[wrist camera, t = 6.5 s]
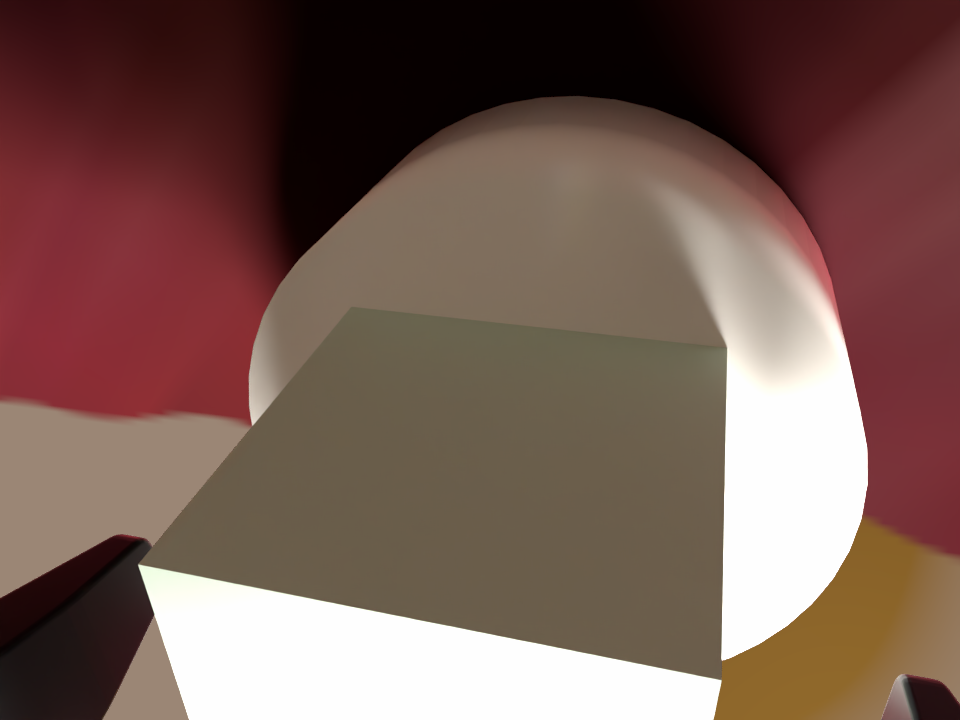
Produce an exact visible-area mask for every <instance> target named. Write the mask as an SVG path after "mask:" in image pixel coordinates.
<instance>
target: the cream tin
mask: <svg viewBox="0 0 960 720" xmlns="http://www.w3.org/2000/svg"><path fill="white" fill-rule="evenodd" d="M351 307H358V308H368V309H377V310H386V311H395V312H404V313H413V314H422V315H432V316H441V317H450V318H459V319H468V320H477V321H486V322H496V323H505V324H514V325H523V326H532V327H541V328H551V329H560V330H569V331H578V332H587V333H596V334H605V335H615V336H624V337H633V338H642V339H651V340H660V341H669V342H679V343H688V344H697V345H706V346H715V347H724V348H727V398H726V454H725V510H724V566H723V621H722V660H725V659H727V658H730V657H732V656H734V655H736V654H739V653H741V652H743V651H745V650H747V649H749V648H751V647H753V646H755V645H757V644H759V643H761V642H762V641H764V640H765V639H767V638H769V637H770V636H772V635H773V634H775V633H776V632H778V631H779V630H781V629H782V628H784V627H785V626H787V625H788V624H789V623H790V622H792V621H793V620H794V619H795V618H796V617H797V616H798V615H799V614H801V613H802V612H803V611H804V610H805V609H806V608H807V607H809V605H811V604H812V603H813V602H814V600H815V599H816V598H817V597H818V596H819V594H820V593H821V592H822V591H823V589H825V587H826V586H827V585H828V584H829V582H830V581H831V580H832V579H833V577H834V576H835V574H836V572H837V570H838V569H839V567H840V565H841V564H842V562H843V560H844V559H845V557H846V555H847V554H848V552H849V550H850V547H851V545H852V542H853V539H854V536H855V534H856V531H857V529H858V526H859V523H860V521H861V517H862V511H863V506H864V500H865V494H866V489H867V445H866V440H865V435H864V429H863V424H862V419H861V413H860V408H859V404H858V399H857V395H856V390H855V386H854V381H853V377H852V372H851V367H850V363H849V358H848V354H847V349H846V345H845V340H844V336H843V331H842V327H841V322H840V318H839V313H838V308H837V304H836V299H835V295H834V290H833V286H832V281H831V278H830V275H829V272H828V269H827V267H826V264H825V261H824V258H823V255H822V253H821V250H820V247H819V245H818V244H817V242H816V240H815V238H814V236H813V235H812V233H811V231H810V229H809V227H808V225H807V224H806V222H805V220H804V218H803V217H802V215H801V214H800V213H799V211H798V210H797V209H796V207H795V206H794V205H793V203H792V202H791V201H790V200H789V198H788V197H787V196H786V194H785V193H784V192H783V190H782V189H781V188H780V187H779V186H778V185H777V184H776V183H775V182H774V181H773V180H772V179H771V178H770V177H769V176H768V175H767V174H766V173H765V172H764V171H763V170H762V169H761V168H759V167H758V166H757V165H756V164H755V163H754V162H753V161H752V160H750V159H749V158H747V157H746V156H745V155H743V154H742V153H741V152H739V151H738V150H737V149H735V148H734V147H732V146H731V145H730V144H728V143H727V142H726V141H724V140H722V139H721V138H719V137H717V136H715V135H713V134H711V133H709V132H708V131H706V130H704V129H702V128H700V127H698V126H697V125H695V124H693V123H691V122H689V121H686V120H683V119H681V118H678V117H675V116H673V115H670V114H667V113H665V112H662V111H660V110H657V109H654V108H650V107H646V106H641V105H637V104H633V103H629V102H624V101H620V100H615V99H604V98H594V97H583V96H567V97H541V98H535V99H530V100H524V101H519V102H513V103H507V104H503V105H500V106H497V107H494V108H491V109H488V110H485V111H482V112H479V113H476V114H472V115H470V116H468V117H466V118H464V119H462V120H460V121H458V122H456V123H454V124H452V125H450V126H448V127H446V128H444V129H442V130H440V131H439V132H437V133H436V134H435V135H433V136H432V137H430V138H429V139H427V140H426V141H424V142H423V143H421V144H420V145H419V146H417V147H416V148H414V149H413V150H412V151H411V152H410V153H409V154H408V155H407V156H406V157H405V158H404V159H403V160H402V161H401V162H399V163H398V164H397V165H396V166H395V167H394V168H393V169H392V170H391V171H390V172H389V173H388V174H387V175H386V176H385V177H384V178H383V179H382V180H381V181H380V182H379V183H378V184H377V185H375V186H374V187H373V188H372V189H371V190H370V191H369V192H368V193H367V194H366V195H365V196H364V197H363V198H362V199H361V200H360V201H359V202H358V203H357V204H356V205H355V206H354V207H353V208H352V209H351V210H350V211H349V212H348V213H347V214H345V215H344V216H343V217H342V218H341V219H340V220H339V221H338V222H337V223H336V224H335V225H334V226H333V227H332V228H331V229H330V230H329V231H328V232H327V233H326V234H325V235H324V236H323V237H322V238H321V239H320V240H319V241H318V242H317V243H316V244H314V245H313V246H312V247H311V248H310V249H309V250H308V251H307V252H306V253H305V254H304V255H303V256H302V257H301V258H300V259H299V260H298V262H297V263H296V264H295V265H294V267H293V268H292V269H291V271H290V272H289V273H288V275H287V276H286V277H285V278H284V280H283V281H282V282H281V284H280V285H279V286H278V288H277V290H276V292H275V294H274V296H273V298H272V300H271V302H270V303H269V305H268V307H267V309H266V311H265V313H264V315H263V318H262V321H261V324H260V327H259V330H258V333H257V336H256V339H255V342H254V346H253V352H252V359H251V366H250V372H249V408H250V415H251V421H252V426H253V425H254V424H255V423H256V421H257V420H258V419H259V418H260V417H261V415H262V414H263V413H264V412H265V410H266V409H267V408H268V407H269V406H270V404H271V403H272V402H273V401H274V400H275V398H276V397H277V396H278V395H279V394H280V392H281V391H282V390H283V389H284V388H285V386H286V385H287V384H288V383H289V381H290V380H291V379H292V378H293V377H294V375H295V374H296V373H297V372H298V371H299V369H300V368H301V367H302V366H303V365H304V363H305V362H306V361H307V360H308V359H309V357H310V356H311V355H312V354H313V353H314V351H315V350H316V349H317V348H318V346H319V345H320V344H321V343H322V342H323V340H324V339H325V338H326V337H327V336H328V334H329V333H330V332H331V331H332V330H333V328H334V327H335V326H336V325H337V324H338V322H339V321H340V320H341V319H342V317H343V316H344V315H345V314H346V313H347V311H348V310H349V309H350V308H351Z"/></svg>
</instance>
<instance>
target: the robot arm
mask: <svg viewBox="0 0 960 720" xmlns="http://www.w3.org/2000/svg"><path fill="white" fill-rule="evenodd" d="M151 548H152V545H151V543H150V542H149V541H148V540H147V539H145V538H141V537H136V536H130V535H123V534H120V535H115V536H113V537H110V538H109V539H107V540H105V541H103V542H101V543H99V544H98V545H96V546H94V547H92V548H90V549H89V550H87V551H85V552H83V553H81V554H79V555H78V556H76V557H74V558H72V559H70V560H69V561H67V562H65V563H63V564H61V565H59V566H58V567H56V568H54V569H52V570H50V571H49V572H47V573H45V574H43V575H41V576H40V577H38V578H36V579H34V580H32V581H31V582H28V583H27V584H25V585H23V586H21V587H20V588H18V589H16V590H14V591H12V592H10V593H8V594H7V595H5V596H3V597H1V598H0V720H102V719H103V718H104V716H105V714H106V712H107V711H108V709H109V707H110V705H111V703H112V702H113V700H114V698H115V696H116V694H117V692H118V690H119V688H120V686H121V684H122V682H123V679H124V677H125V675H126V673H127V671H128V669H129V667H130V665H131V663H132V661H133V659H134V657H135V655H136V652H137V650H138V648H139V646H140V644H141V642H142V640H143V637H144V636H145V634H146V632H147V629H148V627H149V625H150V623H151V621H152V619H153V617H154V615H155V614H154V611H153V608H152V605H151V602H150V599H149V596H148V593H147V590H146V587H145V584H144V581H143V578H142V575H141V572H140V569H139V566H138V564H139V563H140V561H141V560H142V559H143V558H144V557H145V555H146V554H147V553H148V552H149V551H150V549H151ZM881 720H960V704H959V702H958V701H957V699H956V698H955V697H954V696H953V694H952V693H951V691H950V690H949V689H948V688H947V686H945V685H944V684H943V683H942V682H940V681H938V680H935V679H930V678H925V677H919V676H913V675H908V674H902V675H900V676H899V677H898V678H897V679H896V680H895V682H894V685H893V688H892V691H891V694H890V696H889V699H888V702H887V705H886V707H885V710H884V713H883V716H882V719H881Z"/></svg>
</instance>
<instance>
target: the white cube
mask: <svg viewBox="0 0 960 720" xmlns="http://www.w3.org/2000/svg"><path fill="white" fill-rule="evenodd" d="M726 398H727V348H724V347H715V346H706V345H697V344H688V343H679V342H669V341H660V340H651V339H642V338H633V337H624V336H615V335H605V334H596V333H587V332H578V331H569V330H560V329H551V328H541V327H532V326H523V325H514V324H505V323H496V322H486V321H477V320H468V319H459V318H450V317H441V316H432V315H422V314H413V313H404V312H395V311H386V310H377V309H368V308H358V307H351V308H350V309H349V310H348V311H347V313H346V314H345V315H344V316H343V317H342V319H341V320H340V321H339V322H338V324H337V325H336V326H335V327H334V328H333V330H332V331H331V332H330V333H329V334H328V336H327V337H326V338H325V339H324V340H323V342H322V343H321V344H320V345H319V346H318V348H317V349H316V350H315V351H314V353H313V354H312V355H311V356H310V357H309V359H308V360H307V361H306V362H305V363H304V365H303V366H302V367H301V368H300V369H299V371H298V372H297V373H296V374H295V375H294V377H293V378H292V379H291V380H290V381H289V383H288V384H287V385H286V386H285V388H284V389H283V390H282V391H281V392H280V394H279V395H278V396H277V397H276V398H275V400H274V401H273V402H272V403H271V404H270V406H269V407H268V408H267V409H266V410H265V412H264V413H263V414H262V415H261V417H260V418H259V419H258V420H257V421H256V423H255V424H254V425H253V426H252V427H251V429H250V430H249V431H248V432H247V433H246V435H245V436H244V437H243V438H242V439H241V441H240V442H239V443H238V445H237V446H236V447H235V448H234V449H233V451H232V452H231V453H230V454H229V455H228V456H227V458H226V459H225V460H224V461H223V463H222V464H221V465H220V466H219V467H218V468H217V470H216V471H215V472H214V473H213V475H212V476H211V477H210V478H209V480H208V481H207V482H206V483H205V484H204V485H203V487H202V488H201V489H200V490H199V491H198V493H197V494H196V495H195V496H194V498H193V499H192V500H191V501H190V502H189V504H188V505H187V506H186V507H185V508H184V510H183V511H182V512H181V513H180V514H179V516H178V517H177V518H176V519H175V521H174V522H173V523H172V524H171V525H170V527H169V528H168V529H167V530H166V531H165V533H164V534H163V535H162V536H161V538H160V539H159V540H158V541H157V542H156V543H155V545H154V546H153V547H152V548H151V549H150V551H149V552H148V553H147V554H146V555H145V557H144V558H143V559H142V560H141V561H140V563H139V564H138V566H139V569H140V572H141V575H142V578H143V581H144V584H145V587H146V590H147V593H148V596H149V599H150V602H151V605H152V608H153V611H154V614H155V617H156V620H157V623H158V626H159V629H160V632H161V635H162V638H163V641H164V644H165V647H166V650H167V653H168V656H169V659H170V662H171V665H172V669H173V672H174V675H175V678H176V681H177V684H178V687H179V689H180V692H181V696H182V699H183V702H184V705H185V708H186V711H187V714H188V717H189V720H713V719H714V713H715V709H716V704H717V699H718V695H719V690H720V685H721V677H722V676H721V675H722V621H723V566H724V510H725V454H726Z"/></svg>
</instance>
